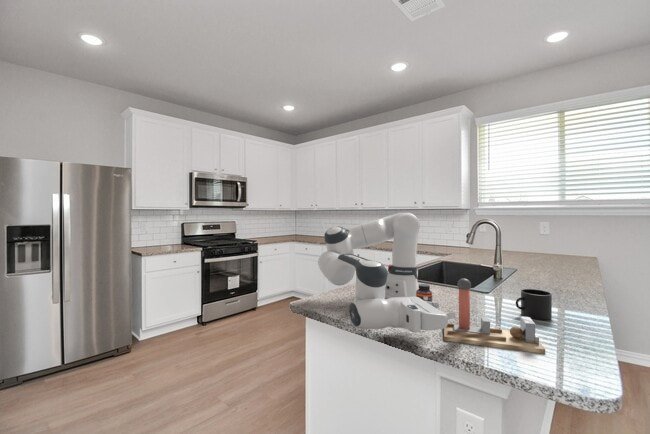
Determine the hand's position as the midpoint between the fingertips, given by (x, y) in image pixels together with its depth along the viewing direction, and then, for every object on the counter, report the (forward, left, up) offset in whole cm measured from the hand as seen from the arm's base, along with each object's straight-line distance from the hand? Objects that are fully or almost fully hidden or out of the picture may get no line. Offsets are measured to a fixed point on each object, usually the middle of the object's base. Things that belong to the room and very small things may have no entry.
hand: (445, 309), depth 95 cm
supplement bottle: (-7, +21, -9) cm, 24 cm away
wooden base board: (+13, +4, -9) cm, 16 cm away
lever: (+8, +4, -7) cm, 11 cm away
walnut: (+20, +4, -8) cm, 22 cm away
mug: (+31, +32, -9) cm, 45 cm away
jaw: (+23, +4, -8) cm, 25 cm away
